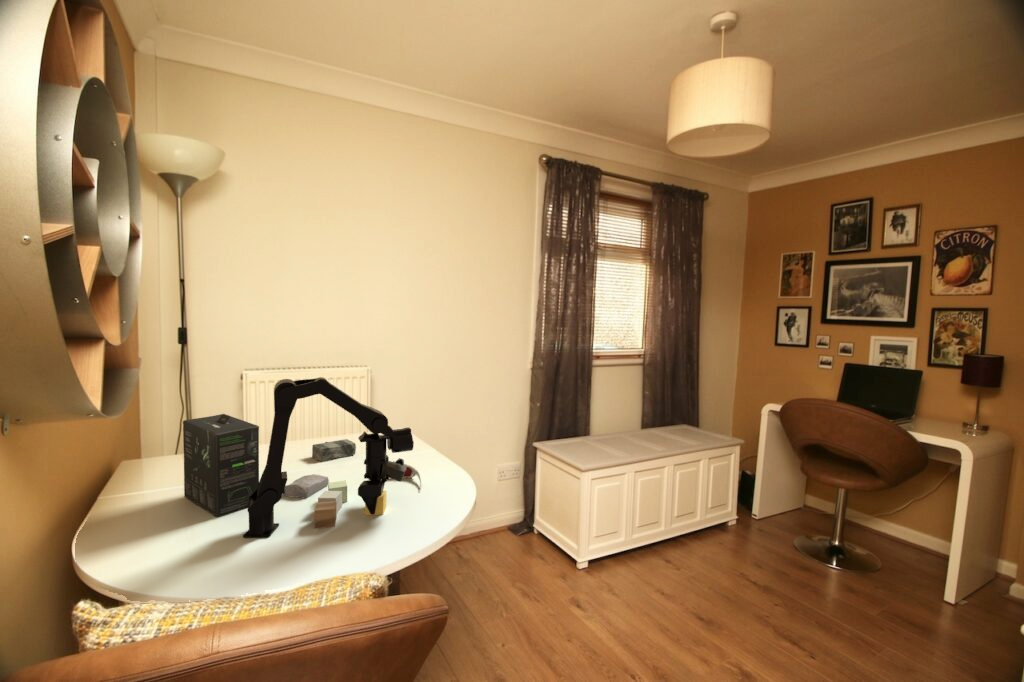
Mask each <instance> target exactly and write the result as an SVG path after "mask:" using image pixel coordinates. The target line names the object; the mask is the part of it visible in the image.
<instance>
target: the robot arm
mask: <svg viewBox="0 0 1024 682" xmlns="http://www.w3.org/2000/svg"><path fill="white" fill-rule="evenodd" d="M317 395H322V396H323V397H324V398H326V399H327V400H328V401H331V402H332V403H334V404H335V405H337V406H338V407H340V408H341V409H343V410H344V411H346V412H348V413H349V414H351V415H352V416H354V417H355V418H356V419H357V420H358V421H359V422H360V423H361V424H362V425H363V426H364V427H365V428H366V429H367V430H368V431H369V432H370V433H367V431H363V433H362V434H361V435H359V436H358V440H359V442H360V443H365V459H364V460H363V465H365V473H364V475H363V479H367V480H363V481H362V482H361V483H360V484H359V486H358V488H357V495H358V496H359V497H360V498H361V500H363V503H364V505H365V504H366V506H367V508H368V510H369V512H370V514H375V511H376V505H377V500H378V497H379V496H381V495H382V493H383V491H384V488H385V484H386V482H387V481H389V479H393V480H395V481H396V482H402V481H403V479H404V477H403V476H404V474H405V471H406V468H407V467H406V465H407V464H406V465H405V466H404V464H405V460H404V459H403V458H400V457H399V458H398V459H397V460H395V461H394V460H393V461H391V460H389V459H390V457H389V455H388V454H387V449H388V450H389V451H390V450H391V452H392V453H395V454H396V453H403V452H410V451H413V450H414V446H415V445H414V440H413V434H412V429H411V428H410V427H403V428H395V429H393V428H392V427H391V426H390V425H389V420H388V418H387V416H386V415H385V414H384V413H383V412H382V411H380V410H378V409H377V408H375V407H374V408H373V407H371V406H368V405H366V404H364V403H361V402H360V401H358V400H357V399H355V398H353V397H352V396H350V395H349V394H347V392H344V391H343V390H341V388H339V387H337V386H336V385H334V384H332V383H331V382H330V381H328V380H327V378H325V377H323V376H322V377H321V376H320V377H317V378H308V379H298V380H292V379H289V378H284V379H280V380H278V381H277V382H276V383H275V385H274V387H273V403H274V405H273V406H274V409H273V410H274V416H273V421H272V427H271V434H270V440H269V444H268V453H267V459H266V464H265V467H264V470H263V471H262V474H261V476H260V478H259V484H258V489H257V490H256V491H255V492H254V493H253V494H252V495H251V496H250V497H249V501H248V508H247V512H248V530H246V532H244V534H243V535H242V538H244V539H245V538H269V537H270V536H271V535H272V534H273V533H274V532H275V531H276V530H277V528H278V527H279V526H280V523H278V522H275V516H274V515H275V511H274V510H275V509H274V508H275V505H276V504H278V503H279V502H280V501H281V500H282V497H283V495H285V486H286V485H287V481H288V473H287V472H288V471H286V470H285V471H282V465H283V461H284V455H285V451H286V449H285V448H286V442H287V437H288V429H289V424H290V418H291V415H292V414H293V411H294V409H295V406H296V403H297V401H298V400H300V399H305V398H308V397H312V396H317ZM368 479H369V480H370V481H368Z"/></svg>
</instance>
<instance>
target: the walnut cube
mask: <svg viewBox="0 0 1024 682" xmlns="http://www.w3.org/2000/svg"><path fill="white" fill-rule="evenodd" d="M337 514H338V513H337V501H331V502H319V503H318V502H316V506H315V509H314V529H324V528H332V527H334V528H335V527H336V524H337V523H336V522H337Z"/></svg>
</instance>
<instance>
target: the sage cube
mask: <svg viewBox="0 0 1024 682" xmlns="http://www.w3.org/2000/svg"><path fill="white" fill-rule="evenodd" d="M347 484H348V483H347V481H346V480H338V481H331V482H330V481H329V483H328V485H327V486H328V490H327V491H342V504H344V503H347V502H348V485H347Z"/></svg>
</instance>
